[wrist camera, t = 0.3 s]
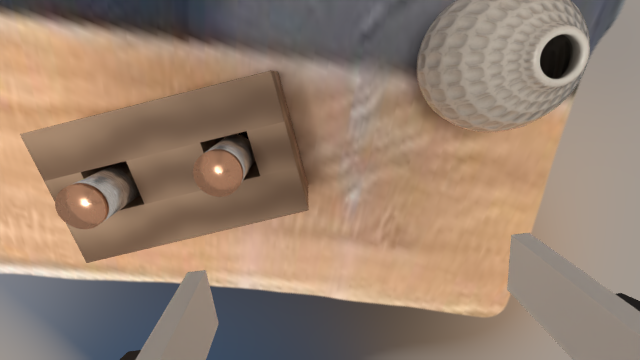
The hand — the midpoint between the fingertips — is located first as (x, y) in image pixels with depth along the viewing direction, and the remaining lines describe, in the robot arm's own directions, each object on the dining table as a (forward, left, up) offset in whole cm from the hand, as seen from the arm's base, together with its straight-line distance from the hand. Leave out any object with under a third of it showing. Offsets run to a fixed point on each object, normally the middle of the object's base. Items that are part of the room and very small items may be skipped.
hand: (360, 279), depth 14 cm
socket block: (-3, -15, -28) cm, 32 cm away
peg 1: (-3, -21, -22) cm, 31 cm away
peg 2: (-3, -9, -22) cm, 24 cm away
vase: (-6, +17, -28) cm, 33 cm away
